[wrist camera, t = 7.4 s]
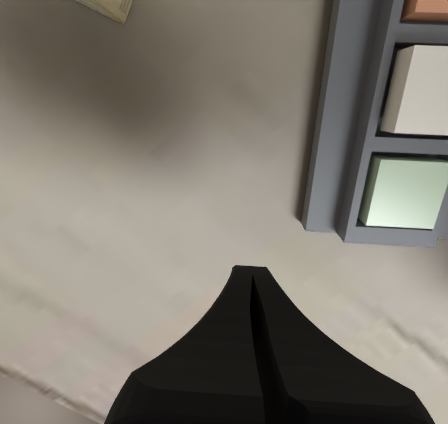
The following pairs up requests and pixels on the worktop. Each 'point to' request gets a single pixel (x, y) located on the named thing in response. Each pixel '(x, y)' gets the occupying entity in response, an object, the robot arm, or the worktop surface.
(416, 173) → the green button
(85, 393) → the worktop surface
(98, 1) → the skincare box
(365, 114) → the button panel
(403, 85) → the cream button
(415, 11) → the terracotta button
